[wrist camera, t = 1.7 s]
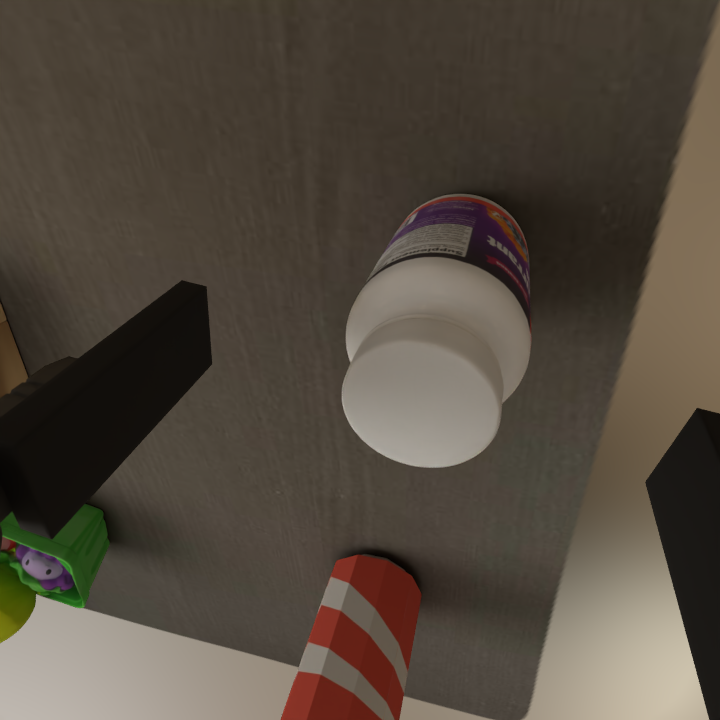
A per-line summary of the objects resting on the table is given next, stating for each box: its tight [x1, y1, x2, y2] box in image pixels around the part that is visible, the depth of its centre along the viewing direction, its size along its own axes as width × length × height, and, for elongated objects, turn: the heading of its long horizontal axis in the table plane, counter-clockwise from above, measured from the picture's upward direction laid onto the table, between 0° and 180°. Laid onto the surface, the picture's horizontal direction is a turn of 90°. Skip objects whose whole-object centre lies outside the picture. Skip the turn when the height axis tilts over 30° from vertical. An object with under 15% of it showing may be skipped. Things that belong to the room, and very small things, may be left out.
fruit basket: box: [0, 504, 110, 643], centre depth 37 cm, size 11×9×11 cm
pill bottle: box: [342, 194, 531, 468], centre depth 16 cm, size 5×5×10 cm
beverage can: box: [281, 554, 422, 720], centre depth 29 cm, size 6×6×12 cm
